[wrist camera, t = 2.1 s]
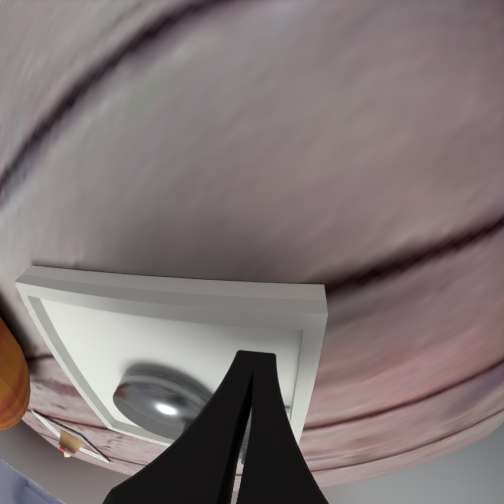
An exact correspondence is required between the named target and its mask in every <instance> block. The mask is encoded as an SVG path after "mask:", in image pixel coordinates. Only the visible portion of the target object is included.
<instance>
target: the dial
mask: <svg viewBox="0 0 504 504" xmlns="http://www.w3.org/2000/svg"><path fill="white" fill-rule="evenodd" d="M209 400H210V399H209V398H208V397H207V396H206V395H205V394H203V393H202V392H201V391H199V390H198V389H196V388H195V387H193V386H191V385H190V384H188V383H186V382H184V381H182V380H179V379H177V378H175V377H172V376H169V375H166V374H163V373H159V372H155V371H150V370H131V371H128V372H126V373H125V374H124V375H123V376H122V378H121V380H120V382H119V384H118V386H117V388H116V390H115V392H114V394H113V402H114V404H115V406H116V407H117V409H118V410H119V411H120V412H121V413H122V414H123V415H124V416H125V417H126V418H128V419H129V420H130V421H132V422H133V423H135V424H136V425H138V426H139V427H141V428H143V429H145V430H147V431H149V432H151V433H154V434H156V435H159V436H162V437H165V438H168V439H172V440H176V439H177V438H178V437H179V436H180V435H181V434H182V433H183V432H184V431H185V430H186V429H187V428H188V427H189V426H190V424H191V423H192V422H193V421H194V420H195V418H196V417H197V416H198V415H199V413H200V412H201V411H202V409H203V408H204V407H205V406H206V404H207V403H208V401H209ZM251 411H252V408H251ZM250 426H251V412H250V416H249V420H248V424H247V428H246V432H245V435H244V439H243V443H242V447H241V450H240V454H239V458H238V459H242V461H241V463H242V464H243V465H244V462H245V456H246V451H247V445H248V439H249V434H250Z"/></svg>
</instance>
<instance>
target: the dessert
mask: <svg viewBox="0 0 504 504" xmlns="http://www.w3.org/2000/svg"><path fill="white" fill-rule="evenodd" d="M31 411H32V410H31ZM32 413H33V414H34V415H35V416H36V417H37V418H38V419H39V420H40V421H41V422H42V423H43V424H44V425H45V426H46V427H48V428H49V429H50V430H51V431H52V432H53V433H54V434H55V435H56V436H57V437H58V438H59V445H60V447H59V449H60V450H62V451H64V457H70V456H71V453H72V454H75V453H76V452H77V451H78V450H80V451H82V452H84V453H86V454H88V455H91V456H93V457H95V458H97V459H100V460H102V461H105V462H107V463H109V464H112V463H111V462H110V461H109V460H108V459H107V458H106V457H105V456H104V455H102V454H101V453H100V452H99V451H98V450H97V449H96V448H95V447H93V446H92V445H91V444H90V443H89V442H88V441H87V440H86V439H85V438H84V437H83V436H82V435H80V434H78V433H76V432H74V431H72V430H70V429H68V428H66V427H64V426H62V425H60V424H58V423H56V422H54V421H52V420H50V419H48V418H47V417H45V416H43V415H41V414H40V413H38V412H35V411H32ZM46 420H47V421H49V422H51V423H53V424H55V425H56V426H58V427H60V428H62V429H64V430H66V431H68V432H70V433H72V434H74V435H76V436H79V437H80V438H81V439H82V440H83V441H85V442H86V443H87V444H88V445H89V446H90V447H91V448H92V449H94V450H95V451H96V452H97V453H98V454H99V455H97V454H95V453H93V452H90V451H88V450H86V449H84V448H82V447H81V446H82V445H83V443H82V442H81V441H80V440H78V439H77V438H75V437H74V436H72V435H71V434H69V433H67V432H65V431H63V430H61V433H60V434H59V433H58V432H57V431H56V430H55V429H54V428H53V427H52V426H51V425H50V424H49V423H48V422H47V421H46Z"/></svg>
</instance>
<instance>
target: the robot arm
mask: <svg viewBox="0 0 504 504" xmlns="http://www.w3.org/2000/svg"><path fill="white" fill-rule="evenodd" d="M251 408H252V411H251ZM250 412H251V426H250V434H249V439H248V445H247V451H246V456H245V462H244V467H243V472H242V478H241V483H240V488H239V493H238V498H237V503H236V504H329V503H328V502H327V500H326V499H325V497H324V495H323V494H322V492H321V490H320V489H319V487H318V485H317V483H316V481H315V480H314V478H313V476H312V474H311V472H310V470H309V468H308V466H307V464H306V462H305V460H304V458H303V456H302V454H301V451H300V449H299V447H298V444H297V442H296V439H295V437H294V434H293V431H292V428H291V425H290V422H289V419H288V416H287V413H286V410H285V406H284V402H283V398H282V394H281V390H280V385H279V380H278V373H277V362H276V355H275V354H274V353H266V352H256V351H246V350H239V351H237V352H236V355H235V357H234V359H233V362H232V364H231V366H230V368H229V370H228V371H227V373H226V375H225V377H224V379H223V380H222V382H221V383H220V385H219V387H218V388H217V390H216V391H215V393H214V394H213V396H212V397H211V399H210V400H209V401H208V403H207V404H206V406H205V407H204V408H203V409H202V411H201V412H200V413H199V415H198V416H197V417H196V418H195V420H194V421H193V422H192V423H191V424H190V426H189V427H188V428H187V429H186V430H185V431H184V432H183V433H182V434H181V435H180V436H179V437H178V438H177V439H176V440H175V441H174V442H173V443H172V444H171V445H170V446H169V447H168V448H167V449H166V450H165V451H164V452H163V453H162V454H160V455H159V456H158V457H157V458H156V459H154V460H153V461H152V462H151V463H149V464H148V465H147V466H146V467H144V468H143V469H142V470H140V471H139V472H138V473H136V474H135V475H133V476H132V477H130V478H129V479H127V480H125V481H124V482H122V483H121V484H119V485H117V486H116V487H114V488H113V489H111V491H110V492H109V493H108V495H107V497H106V498H105V500H104V502H103V504H230V503H231V498H232V492H233V486H234V480H235V474H236V468H237V463H238V458H239V454H240V450H241V447H242V443H243V439H244V435H245V432H246V428H247V424H248V420H249V416H250ZM0 504H65V503H64V502H62V501H60V500H59V499H57V498H55V497H54V496H53V495H51V494H49V493H48V492H47V491H46V489H44V488H43V487H41V486H40V485H38V484H37V483H35V482H34V481H33V480H31V479H30V478H28V477H27V476H25V475H24V474H22V473H20V472H18V471H17V470H15V469H14V468H12V467H11V466H10V465H9V464H7V463H6V462H5V461H3V460H2V459H0Z"/></svg>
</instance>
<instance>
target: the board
mask: <svg viewBox="0 0 504 504" xmlns="http://www.w3.org/2000/svg"><path fill="white" fill-rule="evenodd" d="M15 284H16V286H17V289H18V291H19V293H20V295H21V297H22V299H23V301H24V304H25V306H26V308H27V310H28V312H29V313H30V315H31V317H32V319H33V321H34V323H35V325H36V327H37V328H38V330H39V332H40V334H41V335H42V337H43V339H44V341H45V342H46V344H47V346H48V347H49V349H50V351H51V352H52V354H53V355H54V357H55V359H56V360H57V362H58V363H59V365H60V366H61V368H62V369H63V371H64V372H65V374H66V375H67V376H68V378H69V379H70V381H71V382H72V383H73V385H74V386H75V388H76V389H77V390H78V392H79V393H80V394H81V396H82V397H83V398H84V399H85V401H86V402H87V403H88V405H89V406H90V407H91V408H92V409H93V411H94V412H95V413H96V414H97V415H98V417H99V418H100V419H101V420H102V421H103V423H104V424H105V425H106V426H107V427H108V428H109V429H112V430H114V431H117V432H120V433H123V434H126V435H129V436H133V437H136V438H139V439H142V440H146V441H149V442H153V443H157V444H161V445H165V446H170V445H171V444H172V443H173V442H174V441H175V440H172V439H168V438H165V437H162V436H159V435H156V434H154V433H151V432H149V431H147V430H145V429H143V428H141V427H139V426H138V425H136V424H135V423H133V422H132V421H130V420H129V419H128V418H126V417H125V416H124V415H123V414H122V413H121V412H120V411H119V410H118V409H117V407H116V406H115V404H114V402H113V394H114V392H115V390H116V388H117V386H118V384H119V382H120V380H121V378H122V376H123V375H124V374H125V373H126V372H128V371H131V370H150V371H155V372H159V373H163V374H166V375H169V376H172V377H175V378H177V379H179V380H182V381H184V382H186V383H188V384H190V385H191V386H193V387H195V388H196V389H198V390H199V391H201V392H202V393H203V394H205V395H206V396H207V397H208V398H209V399H211V397H212V396H213V394H214V393H215V391H216V390H217V388H218V387H219V385H220V383H221V382H222V380H223V379H224V377H225V375H226V373H227V371H228V370H229V368H230V366H231V364H232V362H233V359H234V357H235V355H236V352H237V351H239V350H246V351H256V352H266V353H274V354H275V355H276V362H277V373H278V380H279V385H280V390H281V394H282V398H283V402H284V406H285V410H286V413H287V416H288V419H289V422H290V425H291V428H292V431H293V434H294V437H295V439H296V442H297V444H299V440H300V437H301V433H302V430H303V426H304V422H305V419H306V415H307V411H308V407H309V403H310V399H311V395H312V391H313V386H314V382H315V378H316V373H317V369H318V364H319V359H320V354H321V349H322V344H323V339H324V334H325V329H326V323H327V317H328V310H327V302H326V295H325V288H324V285H320V284H287V283H261V282H239V281H219V280H201V279H185V278H170V277H155V276H141V275H129V274H116V273H105V272H93V271H82V270H72V269H62V268H52V267H43V266H34V265H33V266H31V267H30V268H29V269H28V270H27V271H26V272H25V273H23V274H22V275H21V276H20V277H19V278H18V279H17V280H16V281H15Z"/></svg>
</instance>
